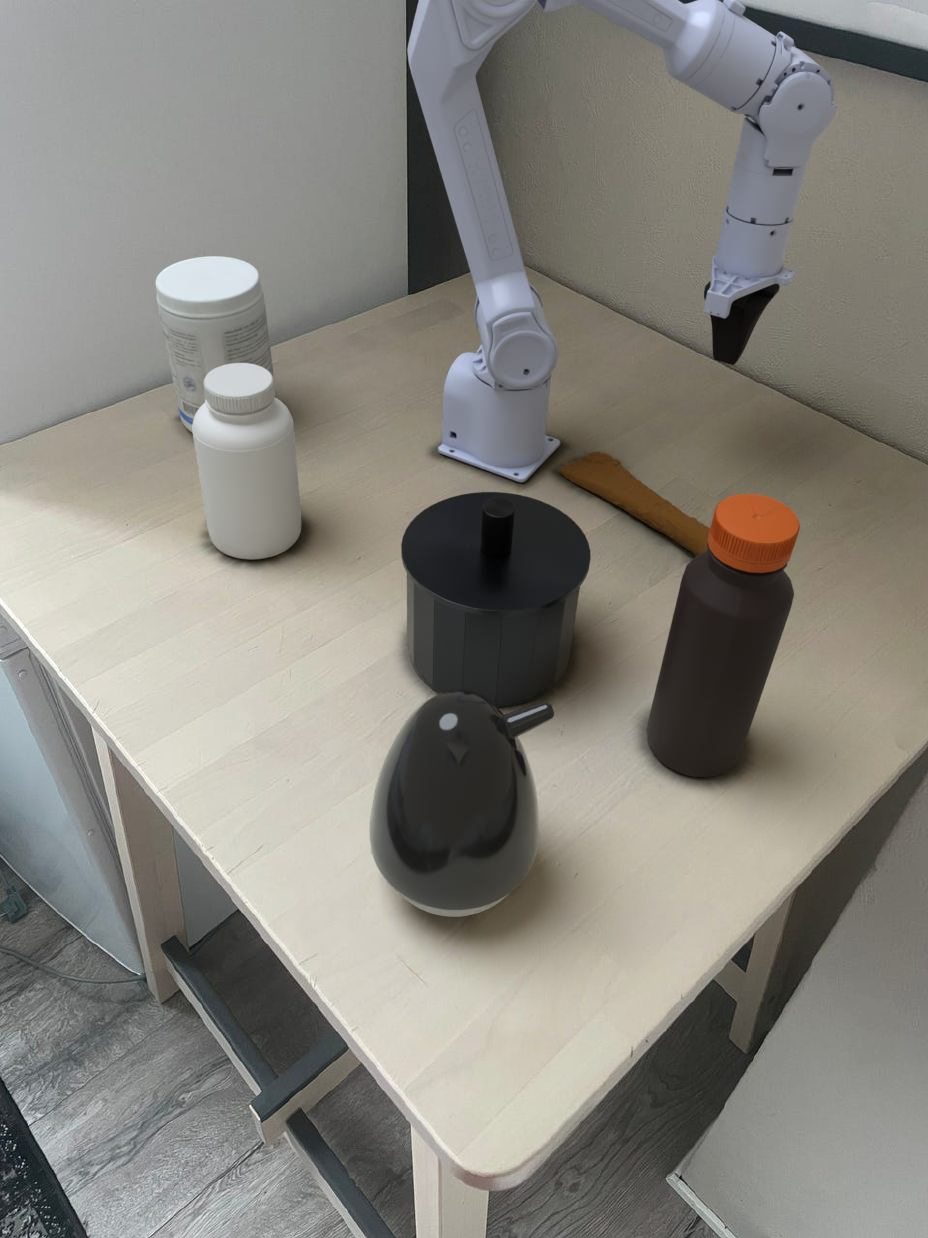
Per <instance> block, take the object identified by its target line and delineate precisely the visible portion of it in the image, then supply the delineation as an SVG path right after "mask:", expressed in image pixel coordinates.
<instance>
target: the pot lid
mask: <svg viewBox="0 0 928 1238" xmlns="http://www.w3.org/2000/svg"><path fill="white" fill-rule="evenodd" d="M400 551H401V552H400V554H401V561H402V564H403V568H404V571H405V572H406V575H407V574H408V576H409V577H410V579H411V580H412V581H413V582H414V583H415V585H416V586H417V587H418V588H419V589H421V590H422V591H423V592H424V593H425V594H427V595H428V596H430V597H431V598H433V599H435V600H436V601H438V602H440V603H442V604H444V605H446V606H449V607H452V608H454V609H457V610H460V611H464V612H468V613H473V614H479V615H486V616H517V615H525V614H530V613H535V612H538V611H541V610H545V609H547V608H550V607H552V606H554V605H557V604H559V603H560V602H562V601H564V600H565V599H567V598H568V597H569V596H571V595H572V594H573V593H574V592H575V591H576V590H577V589H578V588H579V587H580V588H581V586H582V585H583V583H584V582H585V580H586V578H587V576H588V573H589V571H590V565H591V559H592V558H591V548H590V543H589V541H588V538H587V536H586V534H585V533H584V531H583V530H582V528H581V527H580V526H579V524H577V522H575V520H573V519H572V518H571V517H570V516H569V515H568V514H566V513H564V512H563V511H562V510H560V509H559V508H556V507H555V506H553V505H551V504H549V503H547V502H545V501H541V500H539V499H537V498H533V497H530V496H526V495H523V494H518V493H510V492H502V491H479V492H478V491H477V492H469V493H463V494H459V495H454V496H450V497H448V498H445V499H443V500H440V501H437V502H435V503H433V504H431V505H429V506H428V507H427V508H425V509H423V510H422V511H421V512H420V513H418V514H417V515H416V516H415V517H414V518H413V519H412V520H411V521H410V523H408V525H407V527H406V529H405V531H404V532H403V535H402V539H401V544H400Z"/></svg>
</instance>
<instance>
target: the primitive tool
mask: <svg viewBox="0 0 928 1238" xmlns="http://www.w3.org/2000/svg"><path fill="white" fill-rule="evenodd" d="M558 472H559V474H560V475H562V476H563V477H564V478H565V479H566V480H569V482H571V483H573V484H575V485H577V486H579V487H581V488H583V489H585V490H587V491H589V492H591V493H593V494H595V495H597V496H599V497H601V498H602V499H604V500H606V501H608V502H610V503H611V504H613V505H615V506H616V507H619V508H621V509H623V511H625V512H627V513H628V514H629V515H631V516H633V517H635V518H636V519H638V520H639V521H641V522H643V523H644V524H646V525H647V526H648V527H651V528H652V529H654V530H656V531H657V532H659V533H662V534H664V535H665V536H667V537H668V538H670V539H671V540H673V541H675V542H676V543H678V544H679V545H681V546H682V547H683V548H685V549H686V550H688V552H691V553H692V554H693V555H694V556H695V557H696V556H697V555H699V554H701V553H704V552H706V551H708V550H707V544H708V536H709V532H710V528H711V527H709V526H707V524H703V523H701V521H699V520H698V519H697V518H696V517H693V516H690V515H688V514H686V513H685V512H683V511H682V510H681V509H680V508H679V507H677V506H675V505H674V504H673V503H672V502H670V501H669V500H667V499H666V498H664V497H662V496H661V495H660V494H658V493H657V492H656V491H654V490H653V489H651V488H650V487H648V486H647V485H646V484H644V483H643V482H642V481H640V480H639V479H637V478H636V477H635V476H634V475H633V474H632V473H631V472H629V470H628V469H626V468H624V466H622V462H621V461H620V460H619V459H617V458H614V457H613V456H611V455H610V454H606V453H604V452H601V451H592V452H590V453H589V454H588V455H585V456H583V457H581V458H578V459H576V460H573V461H570V462H568V463H567V464H564V465H562V466H560V467H559V468H558Z"/></svg>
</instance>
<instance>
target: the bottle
mask: <svg viewBox="0 0 928 1238" xmlns="http://www.w3.org/2000/svg"><path fill="white" fill-rule="evenodd" d="M800 523H801V521H800V519H799V517H797V515H796V512H794V510H792V508H790V507H789V506H787V505H786V504H784V503H783V502H781V501H779V500H778V499H775V498H772V497H769V496H766V495H762V494H757V493H740V494H734V495H731V496H728V497H725V498H724V499H721V501H719V502H718V503H717V505H716V507H715V509H714V512H713V516H712V520H711V524H710V527H709V528H710V532H709V536H708V544H707V550H708V551H706V552H704V553H701V554H699V555H697V556H696V555H695V556H694V558H693V559H691V560H690V561H689V562H688V563H687V564H686V567H685V569H684V572H683V574H682V577H681V580H680V584H679V589H678V593H677V597H676V602H675V606H674V609H673V614H672V618H671V624H670V628H669V631H668V635H667V640H666V644H665V649H664V653H663V657H662V660H661V665H660V669H659V675H658V678H657V683H656V688H655V691H654V695H653V700H652V704H651V708H650V711H649V712H650V713H649V717H648V721H647V725H646V728H645V729H646V739H647V740H646V741H647V744H648V746H649V748H650V750H651V752H652V754H653V755H654V756H655V757H656V758H657V760H659V761H660V762H661V763H662V764H663V765H665V766H666V767H668V768H669V769H671V770H673V771H674V772H677V773H680V774H682V775H686V776H689V777H695V778H710V777H715V776H720V775H722V774H724V773H726V772H728V771H729V770H732V769H733V768H734V766H735V765H736V764H737V762H738V761H739V760H740V759H741V756H742V753H743V750H744V748H745V745H746V742H747V740H748V739H747V738H748V736H749V733H750V731H751V727H752V724H753V722H754V718H755V715H756V712H757V710H758V706H759V703H760V700H761V698H762V694H763V692H764V689H765V686H766V682H767V680H768V677H769V674H770V671H771V668H772V665H773V662H774V659H775V656H776V654H777V650H778V647H779V645H780V642H781V638H782V636H783V633H784V630H785V627H786V624H787V621H788V618H789V615H790V612H791V609H792V605H793V602H794V599H795V591H794V587H793V584H792V580H791V578H790V577H789V575H788V574H787V572H785V569H786V568H787V567H788V563H789V562H790V560H791V557H792V555H793V551H794V548H795V546H796V542H797V538H798V536H799V533H800V530H801V524H800Z"/></svg>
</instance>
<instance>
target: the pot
mask: <svg viewBox="0 0 928 1238" xmlns="http://www.w3.org/2000/svg"><path fill="white" fill-rule="evenodd" d="M580 589H581V586H580V587H579V588H578V589H577V590H576V591H575V592H574V593H573V594H572V595H571V596H569V597H568V598H567V599H565V600H564V601H562V602H560V603H559V604H557V605H554V606H552V607H550V608H547V609H545V610H541V611H538V612H535V613H530V614H525V615H517V616H486V615H479V614H473V613H468V612H464V611H460V610H457V609H454V608H452V607H449V606H446V605H444V604H442V603H440V602H438V601H436V600H435V599H433V598H431V597H430V596H428V595H427V594H425V593H424V592H423V591H422V590H421V589H419V588H418V587H417V586H416V585H415V583H414V582H413V581H412V580H411V579H410V577H409V576H408V574H407V573H406V645H407V649H408V655H409V660H410V662H411V665H412V667H413V669H414V671H415V672H416V674H417V676H419V679H421V680H422V681H423V682H424V683H425V684H426V685H427V686H428V687H429V688H430V689H431V690H433V691H435V692H436V693H437V694H439V693H441V692H445V691H449V690H467V691H472V692H475V693H478V694H480V695H482V696H484V697H485V698H487V699H488V700H489V701H490V702H492V703H493V704H494V705H495V706H496V707H497V708H506V707H507V708H508V707H514V706H518V705H522V704H525V703H529V702H531V701H533V700H535V699H537V698H539V697H541V696H543V695H545V694H546V693H548V692H549V691H550V690H551V689H553V688H554V687H555V686H556V685H557V684H558V683H559V681H560V680H561V679H562V677H563V676H564V674H565V673H566V670H567V667H568V666H569V663H570V657H571V650H572V643H573V636H574V630H575V622H576V616H577V611H578V602H579V595H580Z"/></svg>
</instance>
